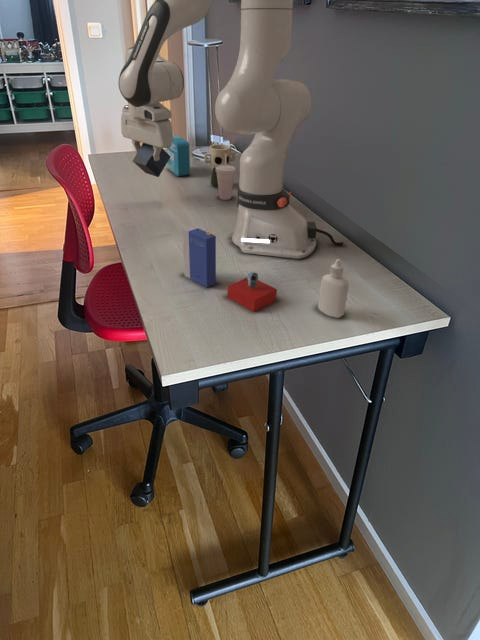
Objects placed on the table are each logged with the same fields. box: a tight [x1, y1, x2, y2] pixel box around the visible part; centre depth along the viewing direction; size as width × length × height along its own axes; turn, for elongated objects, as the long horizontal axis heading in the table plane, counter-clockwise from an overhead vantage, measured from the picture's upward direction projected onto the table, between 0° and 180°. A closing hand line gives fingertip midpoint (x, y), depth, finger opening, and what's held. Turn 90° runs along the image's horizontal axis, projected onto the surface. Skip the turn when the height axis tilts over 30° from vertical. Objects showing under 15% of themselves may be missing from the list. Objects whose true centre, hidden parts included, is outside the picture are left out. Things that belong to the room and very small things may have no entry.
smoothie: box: [215, 153, 236, 201], centre depth 159 cm, size 6×6×14 cm
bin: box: [132, 143, 170, 178], centre depth 153 cm, size 8×6×6 cm
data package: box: [166, 135, 191, 177], centre depth 182 cm, size 12×4×12 cm, turn 26°
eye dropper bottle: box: [317, 258, 350, 319], centre depth 101 cm, size 4×6×12 cm
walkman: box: [182, 225, 217, 288], centre depth 112 cm, size 8×3×12 cm, turn 45°
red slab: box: [227, 272, 278, 312], centre depth 107 cm, size 8×7×6 cm
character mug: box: [204, 143, 236, 187], centre depth 170 cm, size 11×7×13 cm, turn 111°
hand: (147, 157), depth 152 cm, fingers closed on bin, 6 cm apart
